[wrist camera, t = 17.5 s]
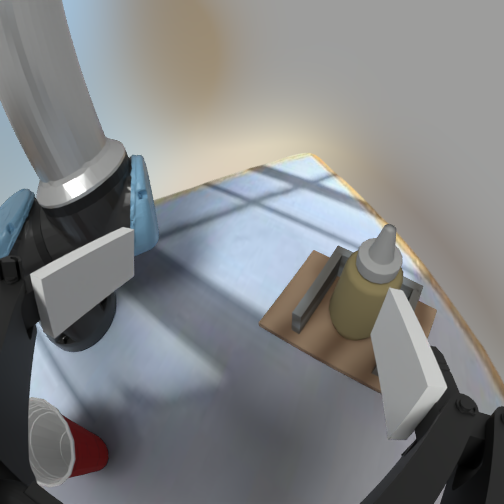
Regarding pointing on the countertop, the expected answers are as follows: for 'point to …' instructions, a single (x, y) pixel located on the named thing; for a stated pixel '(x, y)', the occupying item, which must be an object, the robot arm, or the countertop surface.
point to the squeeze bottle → (366, 285)
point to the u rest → (319, 321)
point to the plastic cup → (60, 446)
